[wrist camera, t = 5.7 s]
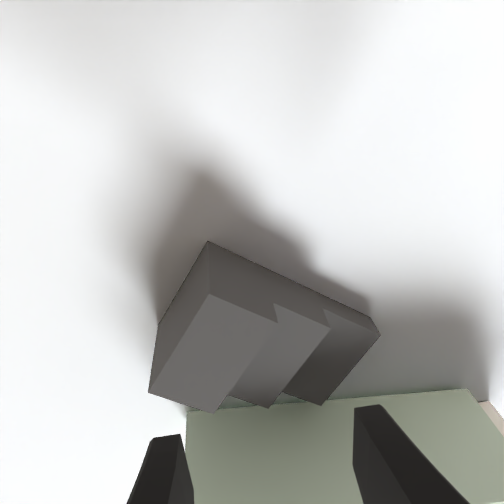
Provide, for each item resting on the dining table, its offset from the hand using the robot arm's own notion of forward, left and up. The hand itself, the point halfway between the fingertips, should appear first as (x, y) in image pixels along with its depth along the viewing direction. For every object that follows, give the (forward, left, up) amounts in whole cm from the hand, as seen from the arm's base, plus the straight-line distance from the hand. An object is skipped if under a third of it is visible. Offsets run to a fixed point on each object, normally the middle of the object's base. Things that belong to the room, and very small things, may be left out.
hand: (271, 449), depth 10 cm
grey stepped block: (-2, +2, -8) cm, 9 cm away
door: (-6, +6, -8) cm, 11 cm away
